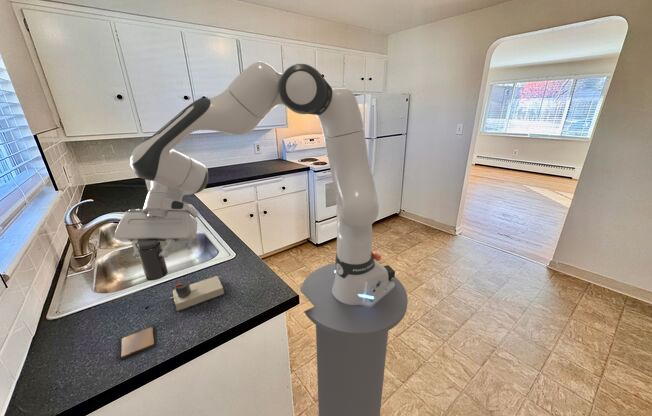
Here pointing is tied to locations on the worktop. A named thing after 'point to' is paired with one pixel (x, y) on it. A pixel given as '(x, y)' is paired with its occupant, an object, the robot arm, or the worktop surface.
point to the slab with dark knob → (199, 293)
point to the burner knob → (183, 289)
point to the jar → (152, 259)
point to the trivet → (137, 342)
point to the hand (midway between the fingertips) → (150, 257)
